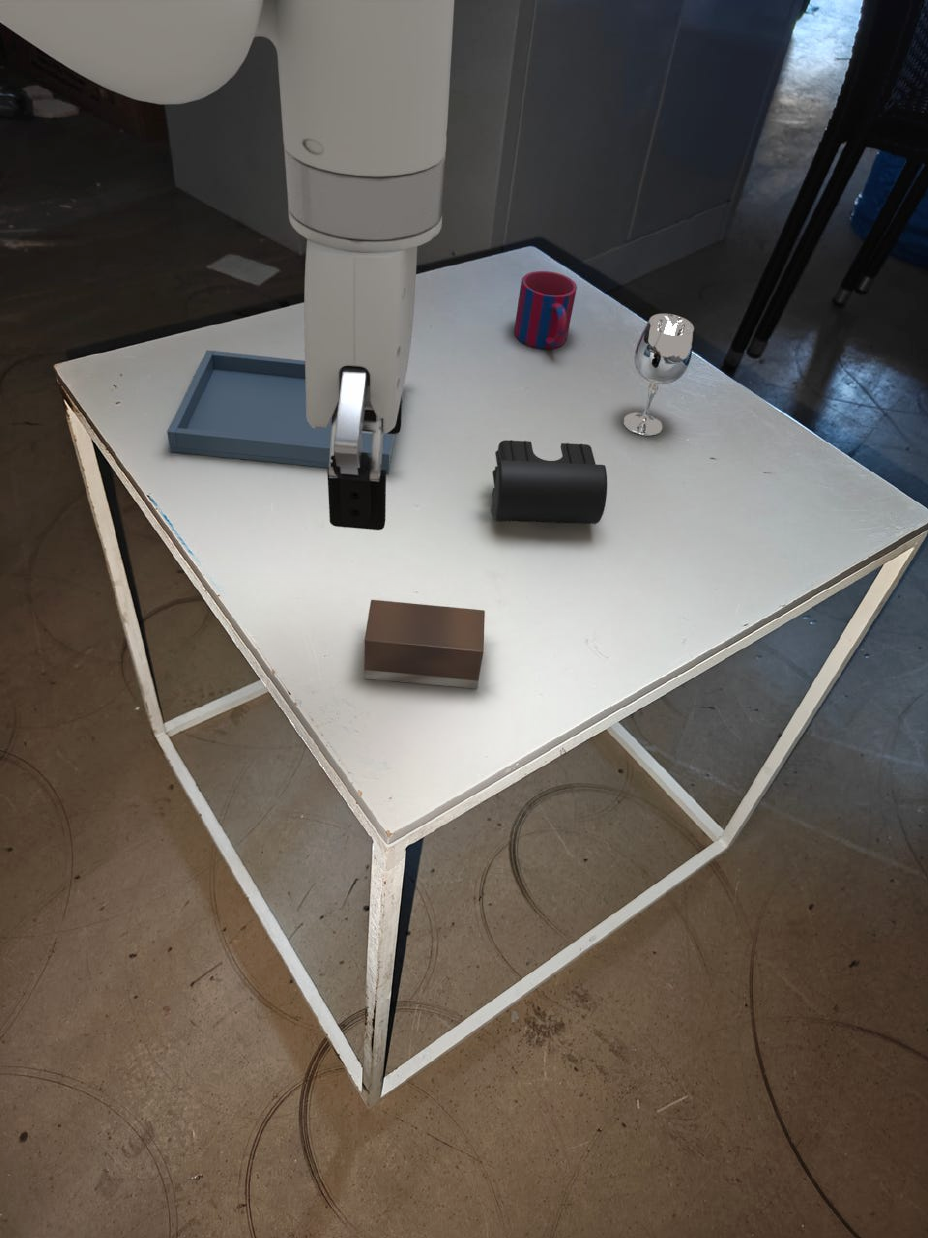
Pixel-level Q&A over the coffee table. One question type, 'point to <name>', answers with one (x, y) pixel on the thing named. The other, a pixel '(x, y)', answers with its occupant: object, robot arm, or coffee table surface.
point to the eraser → (424, 644)
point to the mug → (544, 309)
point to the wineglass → (660, 363)
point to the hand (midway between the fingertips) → (367, 474)
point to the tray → (254, 413)
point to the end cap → (548, 485)
